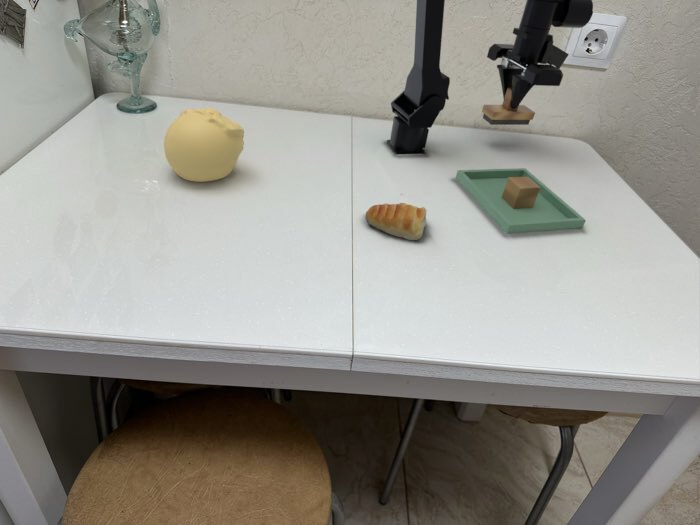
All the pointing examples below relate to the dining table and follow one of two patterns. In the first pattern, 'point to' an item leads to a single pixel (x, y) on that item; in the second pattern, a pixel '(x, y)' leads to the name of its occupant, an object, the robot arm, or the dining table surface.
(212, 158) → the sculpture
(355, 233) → the dining table surface
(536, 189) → the wooden cube
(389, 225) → the pastry
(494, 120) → the wooden stamp
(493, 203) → the tray
